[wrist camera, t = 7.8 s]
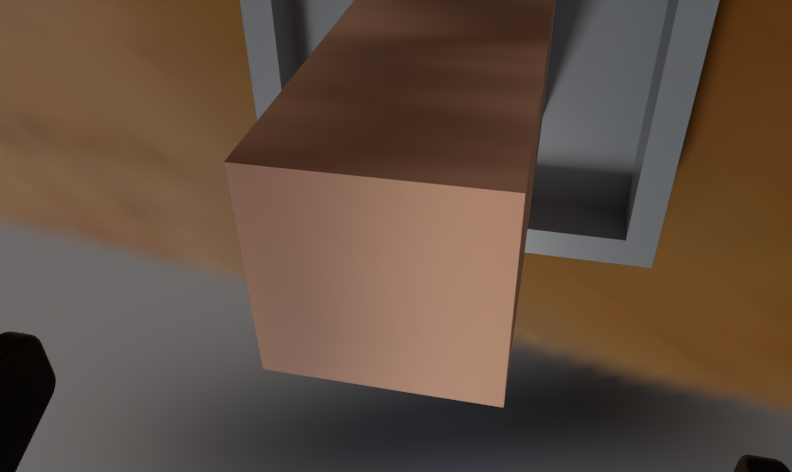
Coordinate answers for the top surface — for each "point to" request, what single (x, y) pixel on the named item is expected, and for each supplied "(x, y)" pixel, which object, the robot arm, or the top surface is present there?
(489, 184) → the terracotta peg
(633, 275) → the top surface
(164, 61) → the top surface
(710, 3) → the grey rectangular bin
